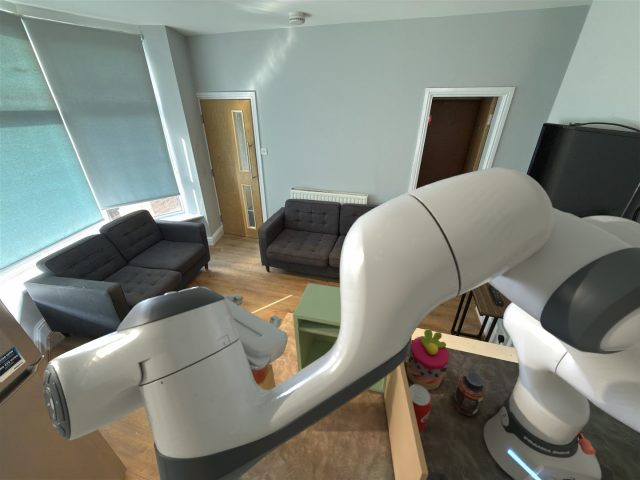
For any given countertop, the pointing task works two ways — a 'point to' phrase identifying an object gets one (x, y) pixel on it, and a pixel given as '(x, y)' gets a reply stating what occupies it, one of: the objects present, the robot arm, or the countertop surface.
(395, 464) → the cupboard door
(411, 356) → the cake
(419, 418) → the beverage can
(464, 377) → the supplement bottle
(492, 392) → the countertop surface
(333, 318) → the cupboard
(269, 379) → the plinth
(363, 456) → the countertop surface
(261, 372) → the red tall cylinder
